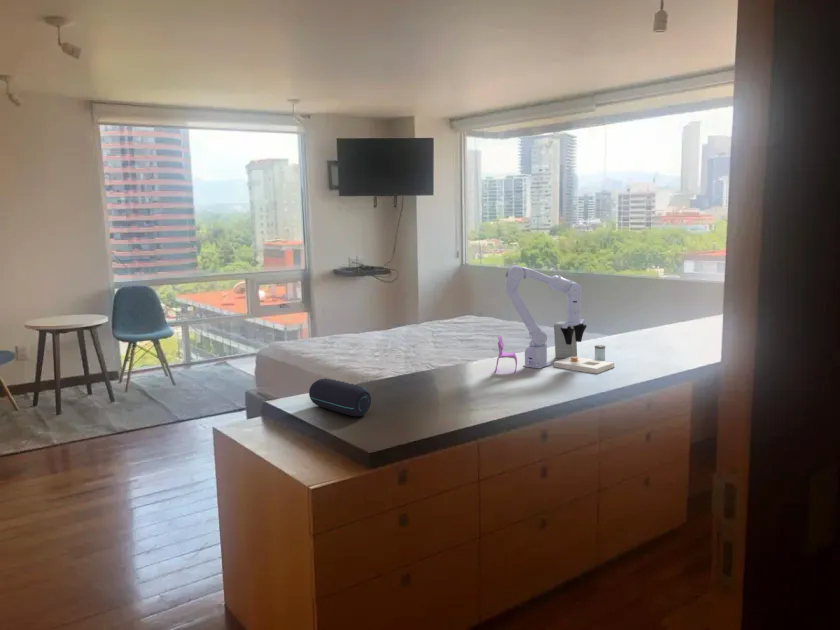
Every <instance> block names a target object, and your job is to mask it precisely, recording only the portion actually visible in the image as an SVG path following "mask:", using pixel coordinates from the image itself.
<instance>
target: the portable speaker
mask: <svg viewBox="0 0 840 630" xmlns="http://www.w3.org/2000/svg"><path fill="white" fill-rule="evenodd" d="M308 394H309V395H308V396H309V399H310V401H311V402H312V403H313V404H314V405H316V406H317V407H320V408H323V409H326V410H330V411H334V412H337V413H340V414H344V415H347V416H351V417H355V418H356V417H361V416H364V415H365V414H366V413H367V412H368V411H369V409H370V407H371V404H372V397H371V394H370V392H369V391H368V389H366V388H365V387H363V386H361V385H358V384H353V383H349V382H345V381H340V380H336V379H330V378H320V379H317V380H315V381H314V382H313V383H311V385H310V387H309V390H308Z"/></svg>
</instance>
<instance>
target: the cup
mask: <svg viewBox="0 0 840 630" xmlns="http://www.w3.org/2000/svg"><path fill="white" fill-rule="evenodd" d="M594 360H600V361H606V345H602V344H597V345H594Z"/></svg>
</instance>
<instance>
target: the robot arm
mask: <svg viewBox="0 0 840 630" xmlns="http://www.w3.org/2000/svg"><path fill="white" fill-rule="evenodd" d="M523 279H524V280H528V279H534V280H536V281H540V282H542V283H545V284H548V286H549V288H550V289H553V290H555V291H558V292H560V293H563V294H567V295H566V321H564V322H565V323H562V327H561V331H562V333H563V335H564V338H565V341H566V344H568V345H571V343H572V336H573V332H574V331H575V339H576V341H577V343H581V342H582V338H583V335H584V333H585V331H586V329H587V324H586V319H584V318H582V316H581V315H582V314H581V313H582V312H581V311H582V300H581V297H582V294H583V288H582V286H581V284H579V283H578V282H575V281H573V280H572V279H567V278H564V277H563V276H562V275H560V274H558V275H556V274H555V275H553V276H549V275H548V274H545V273H542V272H540V271H537V270H534V269H532V268H530V267H525V266H519V265H517V264H513V265H510V266H509V267H508V268H507V271H506V273H505V280H504V283H505V284H504V292H505V294H506V296H507V297H508V299H509V300H510V302H511V304H512V306H513V307H514V309H515V310H516V312H517V314H518V316H519V317H520V319H521V321H522V323H524V324H523V325H524V326H525V327H526V329H527V331H528V333H529V334H528V335H529V338H530V340H531V341H530V342H529V346H528V347H526V349H525V350H524V364H523V367H527V368H533V369H542V368H544V367H545V368H546V367H548V366H552V363H550V362H547V359H548V347H547V341H548V336H547V333H546V332H544V330H543V329H542V328H540V327H539V324H538V323H537V322H536V320H535V318H534V316H533V315H532V312H530V310H529V307H527V305H526V303H525V301H524V300H523V298H522V296H521V295H520V293H519V292H518V291H519V290H518V289H519V286H520V283H521V282H522V280H523ZM572 326H573V327H574V329H571V328H570V327H572Z"/></svg>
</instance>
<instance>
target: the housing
mask: <svg viewBox="0 0 840 630" xmlns="http://www.w3.org/2000/svg"><path fill="white" fill-rule="evenodd" d="M577 357H578V356H577ZM553 367H554V368H560V369H567V370H571V371H572V370H573V371H577V372H582V373H583V372H585V373H590V374H596V375H597V374H599V373H602V372H605V371H607V370H610V369H614V368H615V362H614V361H613V362H612V361H606V360H605V361H600V360H595V359H592V358H584V357H578V359H577V362H572V361H571V357H569V358H561V359H559V360H556V361H554V362H553Z"/></svg>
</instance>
